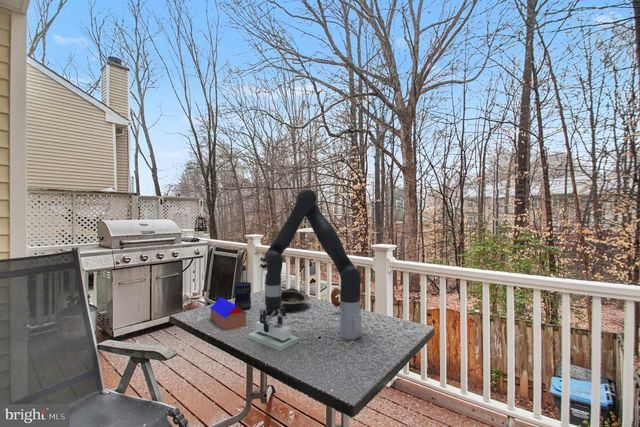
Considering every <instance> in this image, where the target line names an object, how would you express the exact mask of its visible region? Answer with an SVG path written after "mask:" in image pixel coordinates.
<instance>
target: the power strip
mask: <svg viewBox="0 0 640 427" xmlns="http://www.w3.org/2000/svg"><path fill="white" fill-rule="evenodd" d="M266 321H267V320H266ZM268 324H269V332H264V324H262V323H260V320H258V321H256V322H255V331H259V332H261V333H262V334H260V335H262V336H266V335H269V336H272V337H275V338H278V339H280V340H279V341H278V342H281V343H284V342H286V341H287V340H286V339H288V338H290V337H291V335H292V327H289V326H286V325H284V324H282V325H280V324H278V322H274V321H271V320H270V321H269V323H268Z"/></svg>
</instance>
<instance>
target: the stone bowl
mask: <svg viewBox="0 0 640 427" xmlns="http://www.w3.org/2000/svg"><path fill="white" fill-rule="evenodd" d="M309 300H310V297H309V294H307V293H304V292H301V291H300V290H298V289H295V288H287V289H282V303H284V304H286V311H296V310H299V309H300V308H301V307H302V306H303V305H304V303H306V302H308V301H309Z"/></svg>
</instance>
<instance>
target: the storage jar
mask: <svg viewBox="0 0 640 427" xmlns="http://www.w3.org/2000/svg"><path fill="white" fill-rule="evenodd" d="M251 293H252V283H251V282H250V281H249V282H248V281H239V282H236V283H234V302H233V304H234V305H236V306H238V307H239V308H240V309H242V310H243V311H245V312H246V311H249V310H251V309H252V298H251Z"/></svg>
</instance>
